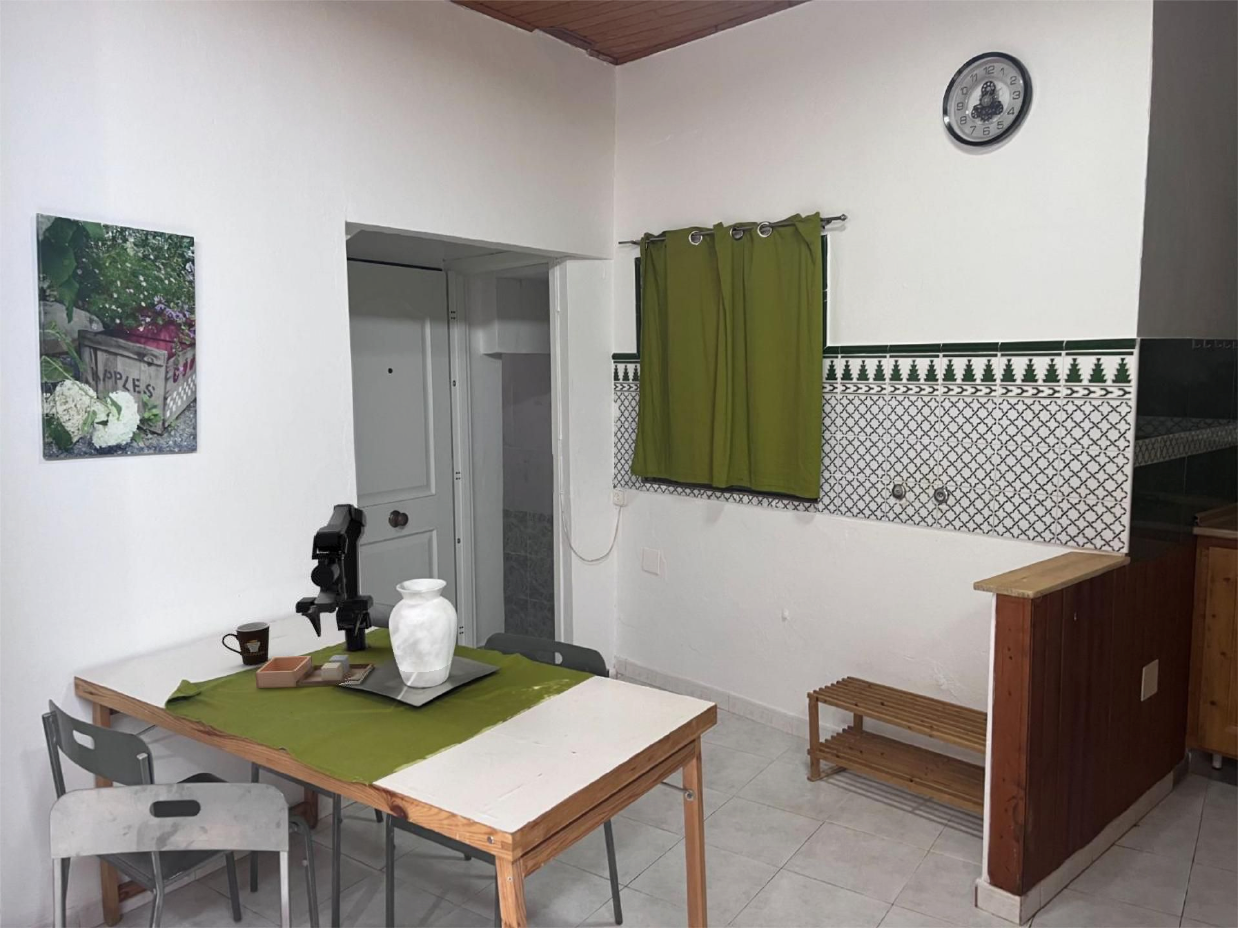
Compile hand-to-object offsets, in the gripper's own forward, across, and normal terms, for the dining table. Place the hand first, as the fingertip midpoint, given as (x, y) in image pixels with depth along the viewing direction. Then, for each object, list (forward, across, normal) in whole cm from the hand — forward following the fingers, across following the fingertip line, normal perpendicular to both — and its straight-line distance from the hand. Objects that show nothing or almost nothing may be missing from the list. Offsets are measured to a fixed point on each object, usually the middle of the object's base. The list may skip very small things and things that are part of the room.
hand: (337, 636), depth 234 cm
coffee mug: (+11, -29, +13) cm, 33 cm away
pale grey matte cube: (+10, 0, 0) cm, 10 cm away
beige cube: (+10, 0, -6) cm, 11 cm away
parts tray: (+10, 0, -3) cm, 11 cm away
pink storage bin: (+10, -13, -4) cm, 17 cm away
